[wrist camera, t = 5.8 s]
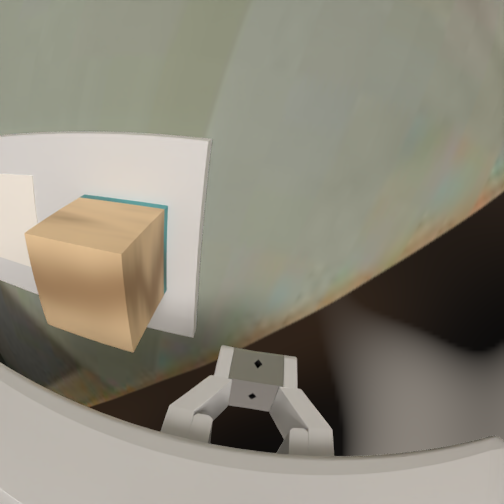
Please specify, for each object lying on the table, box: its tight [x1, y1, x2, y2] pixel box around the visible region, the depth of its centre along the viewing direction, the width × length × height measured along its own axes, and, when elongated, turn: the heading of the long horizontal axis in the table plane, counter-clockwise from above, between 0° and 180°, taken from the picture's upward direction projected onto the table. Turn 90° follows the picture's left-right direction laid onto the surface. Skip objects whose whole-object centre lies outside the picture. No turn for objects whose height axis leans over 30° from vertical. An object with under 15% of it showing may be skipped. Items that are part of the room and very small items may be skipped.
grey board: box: [0, 131, 212, 338], centre depth 19 cm, size 14×24×1 cm, turn 81°
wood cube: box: [24, 194, 168, 353], centre depth 16 cm, size 6×6×6 cm
